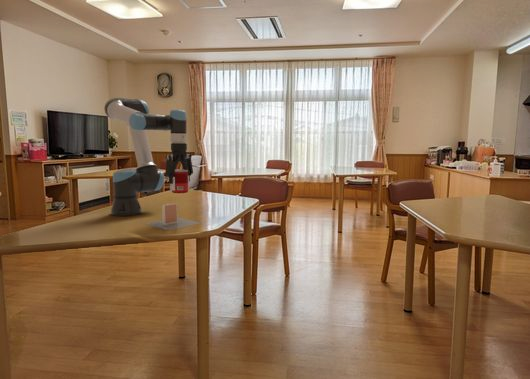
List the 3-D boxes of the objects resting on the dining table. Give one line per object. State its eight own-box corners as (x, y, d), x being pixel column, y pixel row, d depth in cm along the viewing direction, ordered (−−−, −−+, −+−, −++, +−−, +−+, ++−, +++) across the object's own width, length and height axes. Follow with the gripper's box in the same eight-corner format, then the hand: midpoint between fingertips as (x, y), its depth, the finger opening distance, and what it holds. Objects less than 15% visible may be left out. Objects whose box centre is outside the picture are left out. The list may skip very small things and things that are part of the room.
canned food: (191, 191, 183) (191, 169, 181) (179, 194, 176) (179, 171, 174) (180, 190, 187) (179, 169, 185) (168, 192, 180) (167, 170, 178)
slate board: (145, 226, 168) (144, 223, 167) (177, 220, 181) (177, 217, 181) (168, 233, 156) (168, 230, 156) (201, 225, 170) (201, 223, 169)
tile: (162, 224, 166) (162, 204, 165) (175, 221, 171) (175, 202, 170) (164, 225, 165) (164, 205, 164) (177, 222, 170) (177, 203, 169)
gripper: (165, 143, 167) (167, 192, 171) (200, 142, 184) (201, 187, 187) (155, 142, 172) (157, 190, 175) (190, 142, 188) (191, 186, 192)
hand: (179, 189), depth 181 cm, fingers closed on canned food, 8 cm apart
